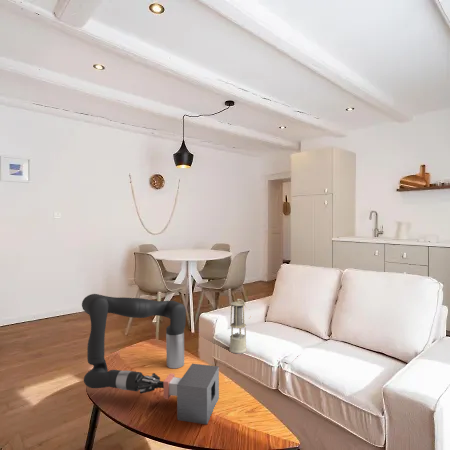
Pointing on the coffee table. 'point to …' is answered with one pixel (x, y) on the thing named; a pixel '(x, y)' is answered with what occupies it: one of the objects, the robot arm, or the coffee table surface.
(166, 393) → the plug
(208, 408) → the block
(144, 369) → the coffee table surface
